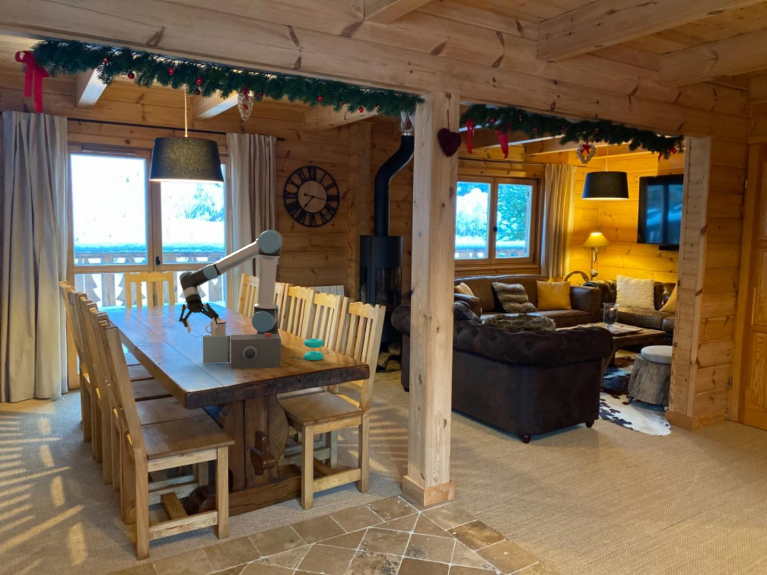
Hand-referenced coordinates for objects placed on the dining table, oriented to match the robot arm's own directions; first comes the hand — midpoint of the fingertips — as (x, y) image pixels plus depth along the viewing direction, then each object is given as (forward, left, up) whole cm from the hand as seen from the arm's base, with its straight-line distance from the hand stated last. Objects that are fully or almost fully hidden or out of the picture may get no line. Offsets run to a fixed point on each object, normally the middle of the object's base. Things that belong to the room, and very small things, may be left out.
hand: (203, 330), depth 310 cm
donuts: (+14, +54, -14) cm, 58 cm away
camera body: (+23, +25, -13) cm, 36 cm away
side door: (+13, +6, -13) cm, 19 cm away
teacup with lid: (-52, +6, -14) cm, 55 cm away
